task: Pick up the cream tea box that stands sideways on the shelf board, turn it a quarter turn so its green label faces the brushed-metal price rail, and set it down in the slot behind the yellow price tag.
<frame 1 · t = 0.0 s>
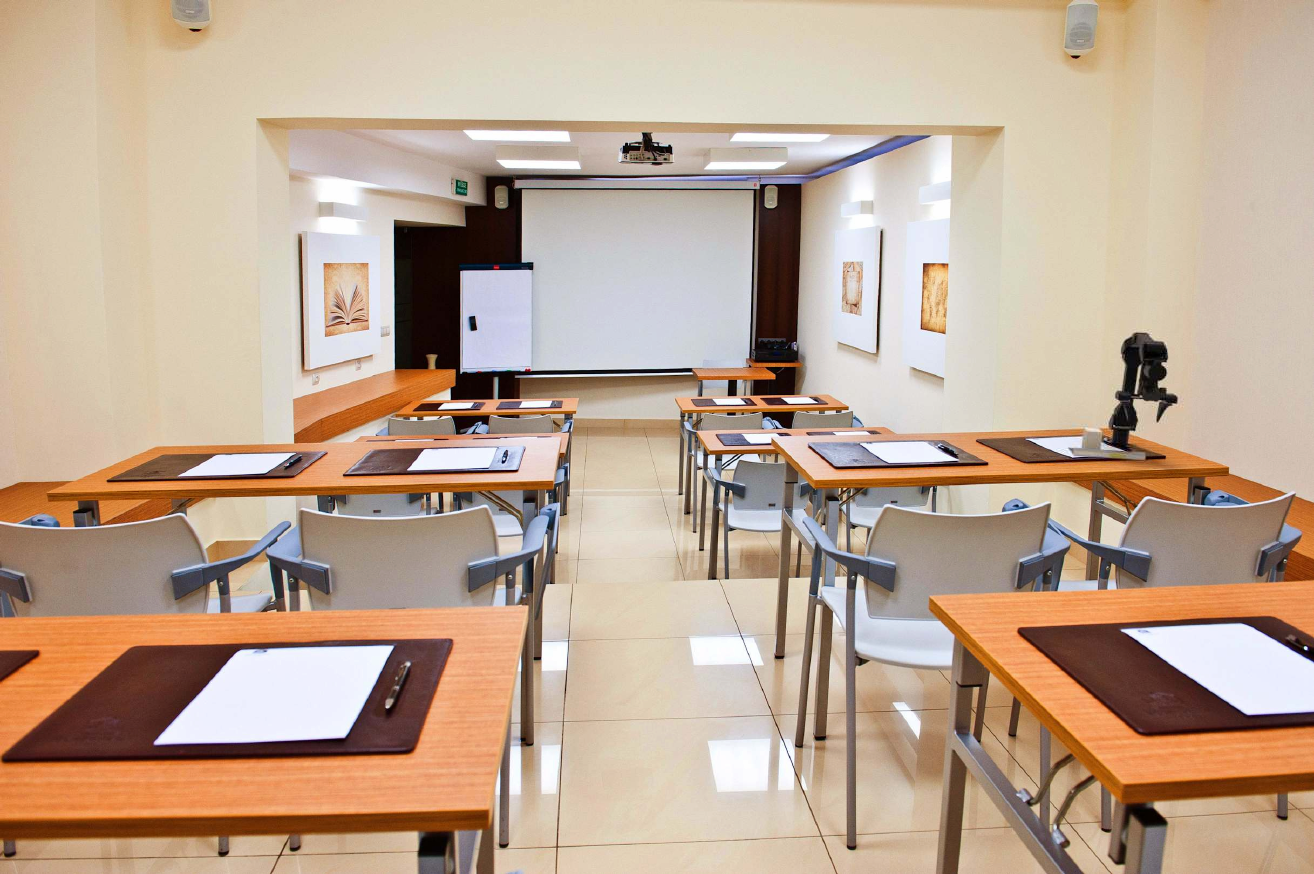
hand: (1142, 421, 319), 14 cm above the table, fingers open, 9 cm apart
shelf: (1105, 455, 330), on the table
tea box: (1090, 451, 333), point 1 cm above the table, touching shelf
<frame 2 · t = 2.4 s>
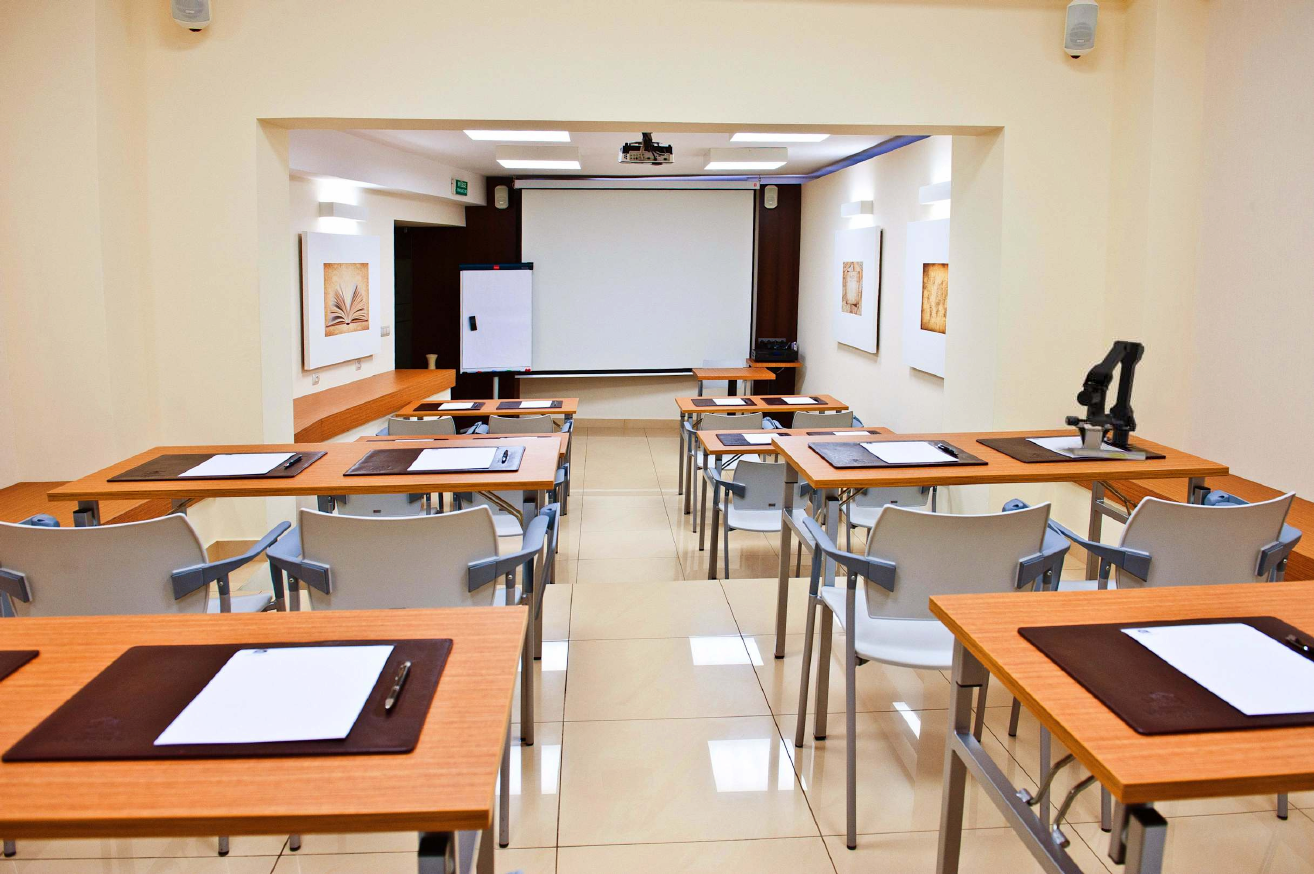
hand: (1091, 445, 332), 3 cm above the table, fingers closed on tea box, 5 cm apart
tea box: (1090, 451, 333), point 1 cm above the table, touching gripper, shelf
when the fingers open (4 cm above the table, at t = 7.9 s): tea box stays where it is, resting on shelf.
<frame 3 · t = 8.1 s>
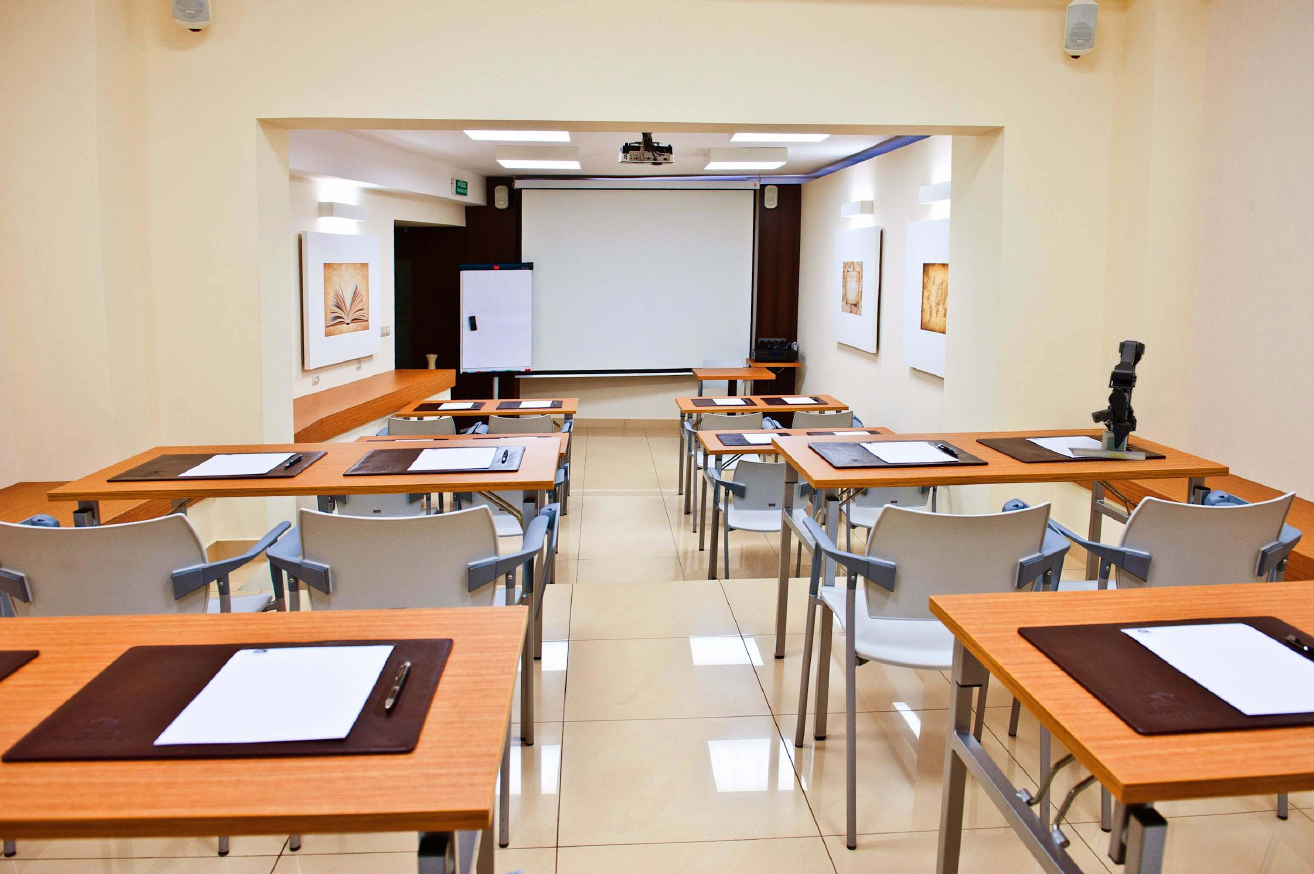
hand: (1113, 446, 328), 4 cm above the table, fingers open, 8 cm apart
tea box: (1112, 454, 329), point 1 cm above the table, touching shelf
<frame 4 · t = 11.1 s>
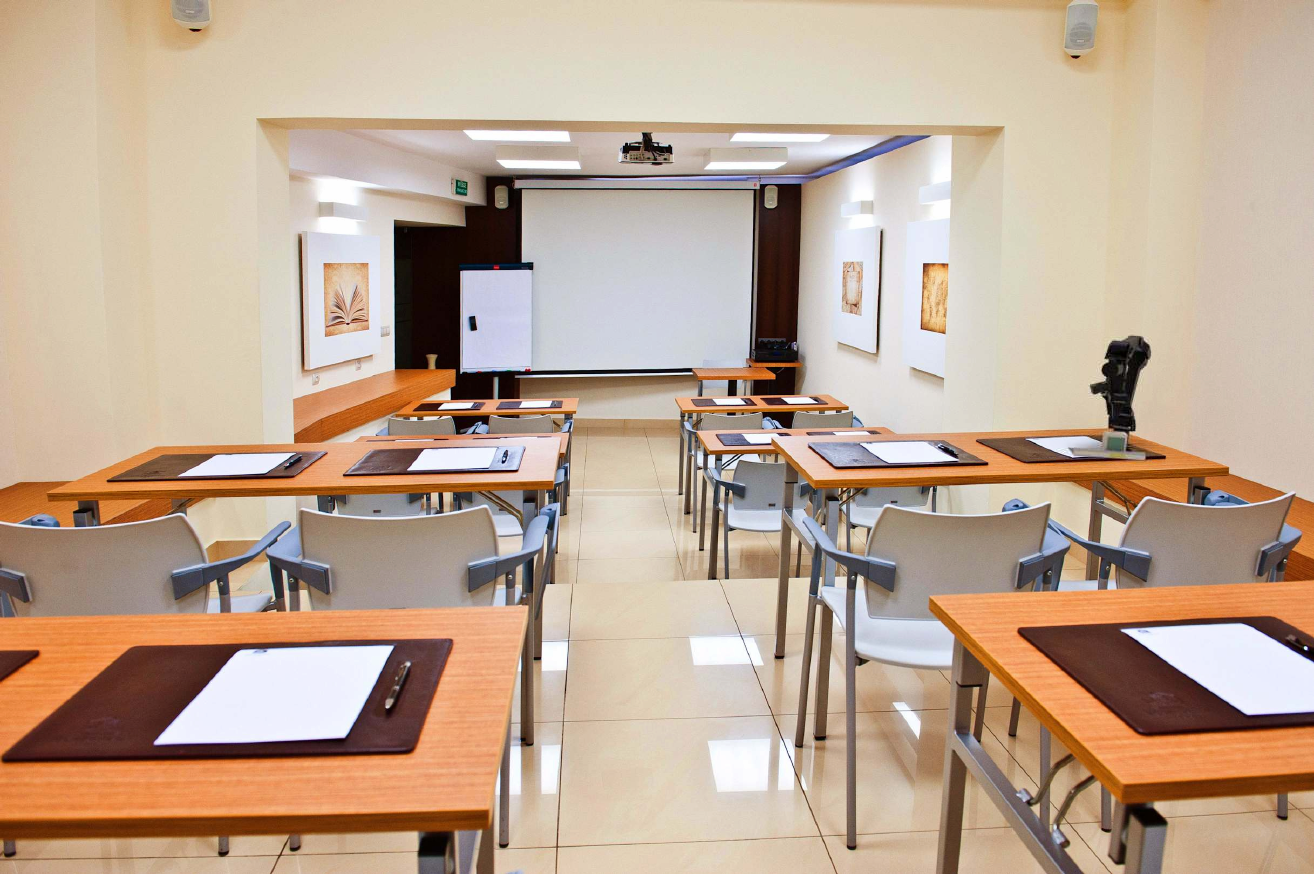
hand: (1111, 417, 335), 13 cm above the table, fingers open, 9 cm apart
nothing on the table moved.
at the end: tea box 0.1 cm from the target spot on the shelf, point 0.8 cm above the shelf's base; tea box tilted 0°; the gripper is holding nothing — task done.
